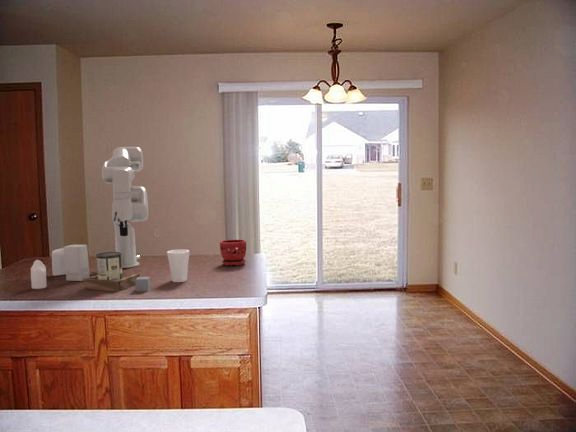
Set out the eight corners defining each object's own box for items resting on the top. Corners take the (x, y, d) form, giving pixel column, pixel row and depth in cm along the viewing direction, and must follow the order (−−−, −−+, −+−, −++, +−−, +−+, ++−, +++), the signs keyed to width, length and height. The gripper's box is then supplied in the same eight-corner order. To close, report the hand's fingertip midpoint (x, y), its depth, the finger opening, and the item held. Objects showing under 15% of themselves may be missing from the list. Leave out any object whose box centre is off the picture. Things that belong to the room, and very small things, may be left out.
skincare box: (90, 278, 262) (88, 244, 260) (80, 281, 256) (78, 246, 254) (74, 277, 265) (72, 243, 263) (65, 280, 259) (62, 246, 257)
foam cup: (171, 283, 249) (170, 254, 247) (165, 279, 257) (164, 250, 255) (193, 281, 253) (191, 251, 251) (186, 277, 261) (185, 248, 260)
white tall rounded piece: (43, 257, 249) (46, 259, 245) (45, 285, 250) (48, 287, 246) (28, 259, 246) (31, 261, 241) (30, 287, 247) (33, 289, 242)
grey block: (138, 288, 241) (138, 276, 241) (150, 288, 242) (150, 276, 241) (135, 291, 236) (135, 279, 236) (148, 291, 237) (147, 279, 236)
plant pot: (251, 263, 292) (251, 239, 290) (236, 267, 281) (235, 243, 279) (231, 260, 299) (230, 237, 297) (215, 265, 288) (214, 241, 286)
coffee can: (109, 283, 252) (107, 251, 251) (128, 284, 248) (126, 252, 247) (92, 288, 243) (90, 255, 242) (111, 290, 239) (109, 256, 237)
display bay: (107, 280, 257) (106, 271, 257) (140, 282, 252) (139, 273, 251) (83, 288, 242) (83, 279, 242) (118, 291, 237) (117, 281, 236)
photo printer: (74, 272, 277) (73, 246, 276) (76, 273, 274) (75, 247, 272) (51, 275, 271) (50, 249, 270) (53, 276, 268) (52, 250, 267)
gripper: (124, 193, 270) (126, 232, 273) (104, 197, 256) (107, 238, 259) (138, 194, 268) (140, 233, 271) (119, 198, 254) (121, 239, 257)
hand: (124, 235), depth 265 cm, fingers closed
